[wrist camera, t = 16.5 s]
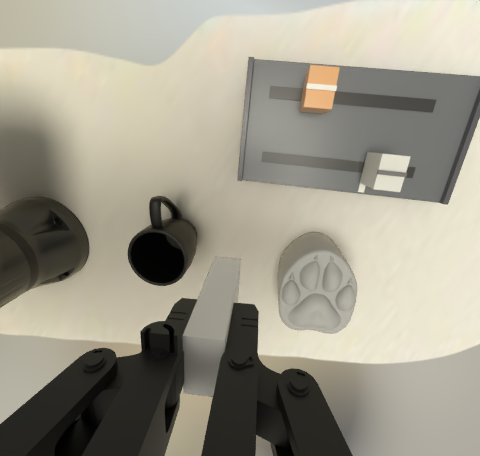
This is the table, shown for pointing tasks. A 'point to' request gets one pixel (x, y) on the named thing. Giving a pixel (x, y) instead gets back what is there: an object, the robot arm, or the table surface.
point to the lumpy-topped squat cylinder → (315, 285)
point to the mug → (163, 246)
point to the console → (358, 128)
